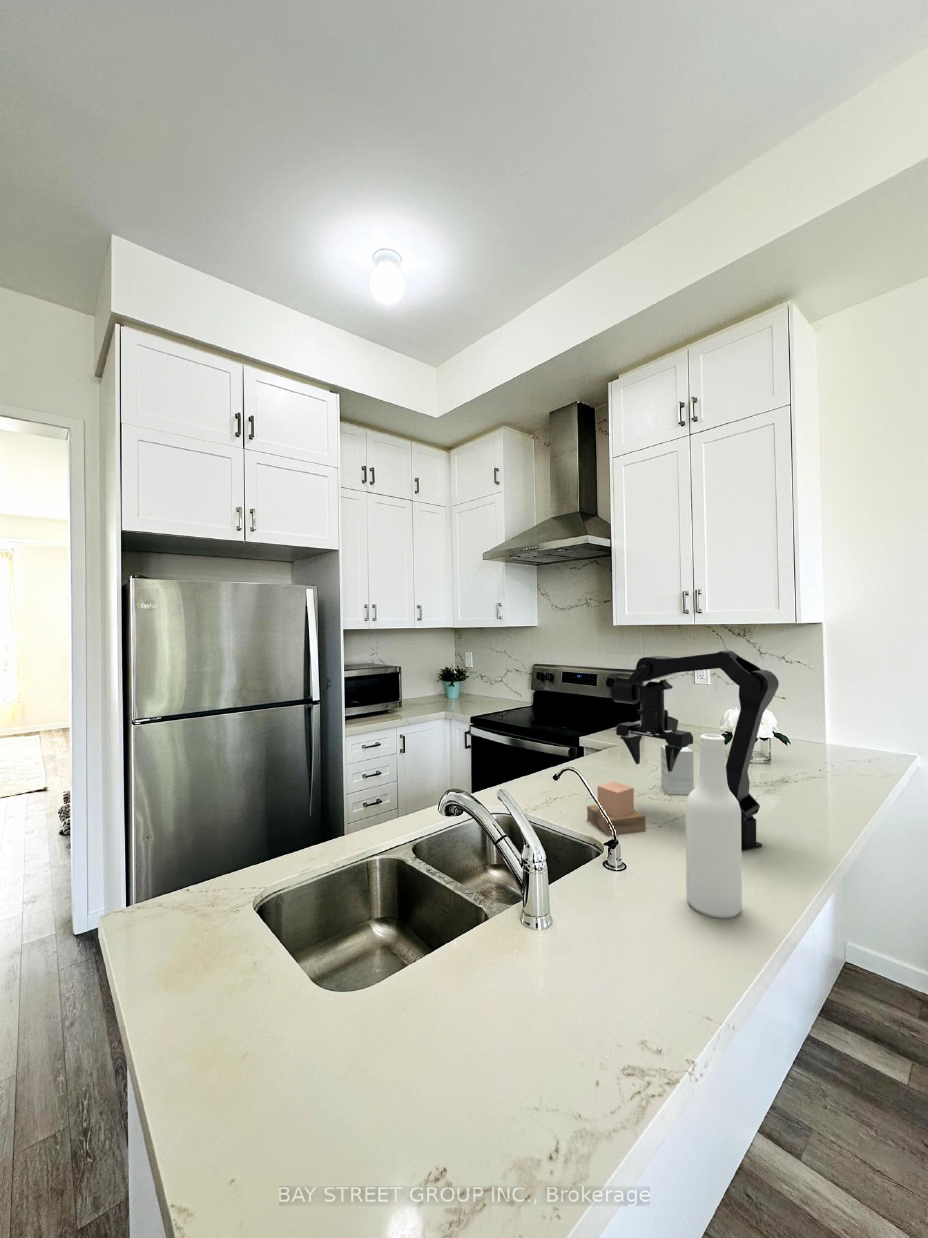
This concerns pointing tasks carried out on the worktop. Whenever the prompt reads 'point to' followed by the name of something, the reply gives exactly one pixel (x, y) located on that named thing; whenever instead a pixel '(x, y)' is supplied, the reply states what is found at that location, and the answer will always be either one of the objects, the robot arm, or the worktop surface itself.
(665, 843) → the worktop surface
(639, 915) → the worktop surface
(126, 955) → the worktop surface
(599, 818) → the walnut block
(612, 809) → the terracotta cube
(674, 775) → the supplement box
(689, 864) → the alcohol
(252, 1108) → the worktop surface
